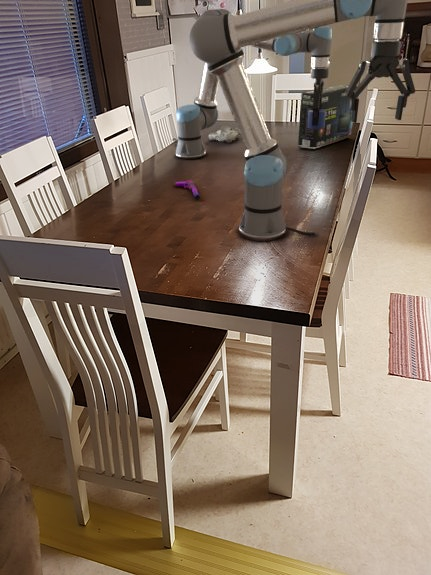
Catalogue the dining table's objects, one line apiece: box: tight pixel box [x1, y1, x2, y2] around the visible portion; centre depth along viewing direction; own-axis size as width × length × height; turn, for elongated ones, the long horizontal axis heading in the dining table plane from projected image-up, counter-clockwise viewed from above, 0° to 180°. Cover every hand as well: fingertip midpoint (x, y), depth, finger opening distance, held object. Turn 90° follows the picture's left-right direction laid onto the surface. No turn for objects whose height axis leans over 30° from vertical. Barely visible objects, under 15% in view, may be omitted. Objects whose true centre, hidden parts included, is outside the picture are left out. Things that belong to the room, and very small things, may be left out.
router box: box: [297, 84, 358, 151], centre depth 238 cm, size 36×11×27 cm, turn 134°
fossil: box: [208, 125, 241, 144], centre depth 258 cm, size 18×11×15 cm
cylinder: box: [308, 109, 326, 129], centre depth 207 cm, size 8×8×7 cm
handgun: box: [174, 179, 200, 201], centre depth 185 cm, size 21×8×2 cm, turn 11°
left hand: (316, 123), depth 208 cm, fingers closed on cylinder, 8 cm apart
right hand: (375, 120), depth 138 cm, fingers open, 13 cm apart
